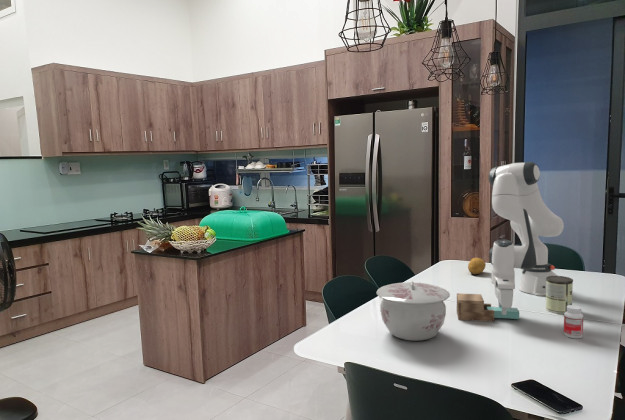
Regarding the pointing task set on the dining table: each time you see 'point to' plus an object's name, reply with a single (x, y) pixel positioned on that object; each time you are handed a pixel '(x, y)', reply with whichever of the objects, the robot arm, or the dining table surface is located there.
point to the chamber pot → (413, 309)
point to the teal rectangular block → (510, 313)
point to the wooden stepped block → (473, 308)
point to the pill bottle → (573, 322)
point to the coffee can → (558, 293)
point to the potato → (476, 265)
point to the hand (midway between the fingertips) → (502, 311)
